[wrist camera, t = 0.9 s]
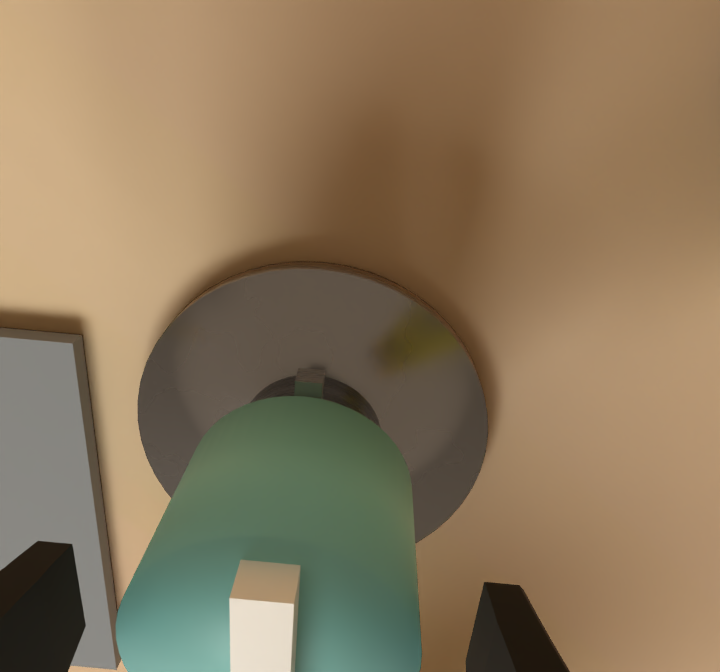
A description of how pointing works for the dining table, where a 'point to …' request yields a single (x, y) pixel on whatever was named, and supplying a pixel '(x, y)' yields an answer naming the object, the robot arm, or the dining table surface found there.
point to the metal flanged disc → (321, 372)
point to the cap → (281, 551)
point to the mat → (55, 473)
